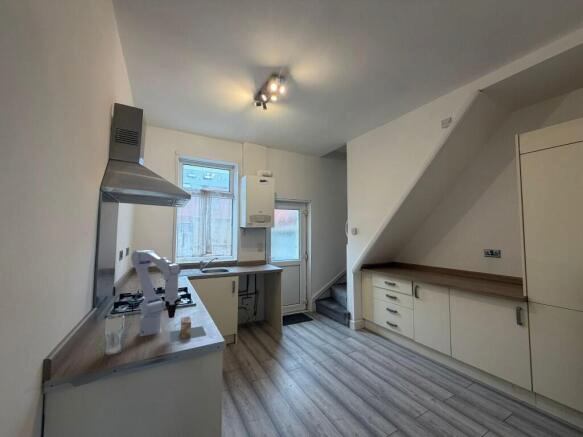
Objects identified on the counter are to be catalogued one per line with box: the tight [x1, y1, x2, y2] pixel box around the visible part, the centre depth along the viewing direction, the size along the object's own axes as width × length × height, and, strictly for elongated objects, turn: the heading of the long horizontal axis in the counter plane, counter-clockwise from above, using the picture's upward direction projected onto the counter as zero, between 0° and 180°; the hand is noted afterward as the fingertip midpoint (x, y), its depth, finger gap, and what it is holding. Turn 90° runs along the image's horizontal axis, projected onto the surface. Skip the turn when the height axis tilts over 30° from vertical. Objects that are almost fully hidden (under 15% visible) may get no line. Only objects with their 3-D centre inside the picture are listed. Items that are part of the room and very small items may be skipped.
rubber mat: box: [169, 325, 207, 343], centre depth 124 cm, size 16×14×1 cm
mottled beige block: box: [180, 316, 192, 338], centre depth 124 cm, size 4×9×7 cm, turn 28°
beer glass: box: [104, 313, 126, 356], centre depth 107 cm, size 7×7×15 cm
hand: (171, 316), depth 121 cm, fingers open, 5 cm apart
